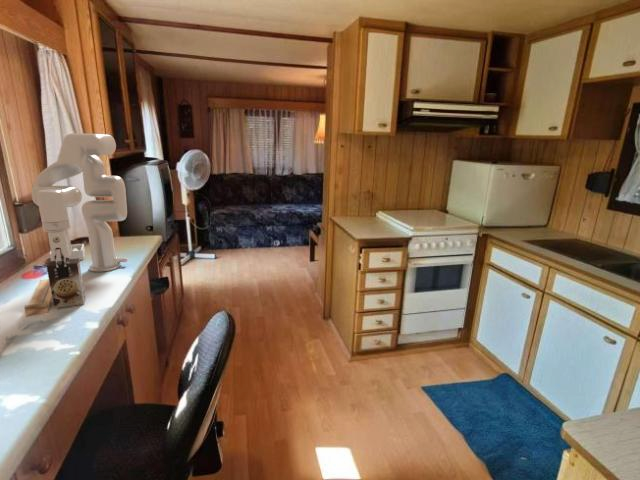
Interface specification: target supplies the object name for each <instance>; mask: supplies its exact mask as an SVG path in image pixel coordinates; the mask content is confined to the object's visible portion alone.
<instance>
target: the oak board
mask: <svg viewBox="0 0 640 480" xmlns="http://www.w3.org/2000/svg"><path fill="white" fill-rule="evenodd" d="M52 303H53V298H52V293H51V287H50V282H49V278H47V279H46V278H45V279H41V280H39V283H38V284H37V287H36V289H35V290H34V293H33V295H32V296H31V299H30V301H29V302H28V304H27V305H24V307H23V308H24V311H25V316H26V318H29V317H33V316H39V315H44V314H45V315H46V314H49V312H50V310H51V307H52Z"/></svg>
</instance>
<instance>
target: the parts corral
mask: <svg viewBox="0 0 640 480" xmlns="http://www.w3.org/2000/svg"><path fill="white" fill-rule="evenodd" d="M71 247H72V249H73V248H77V249H78V250H76V251H72V254H71V257H70V258H69V259H77V258H79V261H84V260H85V255H86V249H85V244H84V243H77V244H71ZM49 258H50V261H56V260H54V259H53V257H52V253H51V250H50V251H49Z"/></svg>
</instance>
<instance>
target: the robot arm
mask: <svg viewBox="0 0 640 480" xmlns="http://www.w3.org/2000/svg"><path fill="white" fill-rule="evenodd" d="M116 149H117V144H116V140H115V138H114V136H113V135H110V134H105V133H80V132H78V133H77V132H76V133H75V132H73V133H68V134H67V135H65V136H64V137H63V141H62V143H61V147H60V149H59V153H58V157H57V159H56V161H55V162H53V163H52V164H50V165H48V166H47V167H45V168H44V169H43V170H42V171H40V172H39V174H38V175H37V176H36V178H35V181H34V182H33V183H34V184H33V187H32V190H31V199H32V201H33V203H34V204H35V205H36V206H38V211H39V214H40V215H39V216H40V220H41V224H42V225H41V226H42V230H43V232H44V233H47V236H48V242H49V247H50V248H49V249H50V251H51V253H52V257H53V259H54V260H56V269H57V274H58V278H65V277H69V270H68V266H67V265H66V260H67V259H69V258H70V257H71V254H72V247H71V245H72V242H71V239H70V234H69V230H70V229H71V225H70V218H69V213H68V208H73V207H76V206H78V205H79V204H80V203H81V202H82V200H83V194H82V192H81V190H80V189H79V188H78V187H76V186H71V185H55V184H56V183H58V182H60V181H63V180H66V179H70V178H73V177H75V176H77V175H80V174H81V173H82V179H83V180H82V181H83V190H84V192H85V195H87V196H88V197H93V198H112V199H113V200H112V199H109V200H107V199H93V200H87V201H85V202H84V203H83V204H82V205H81V214H82V216H83V220H84V222H85V225H86V229H87V235H88V241H89V247H90V248H89V249H90V256H91V261H92V264H91V265H89V266H88V268H89V271H92V272H95V273H102V272H108V271H113V270H116V269H118V268H120V267H121V263H127V262H128V257H124V256H123V257H119V256H117V254H116V249H115V247H116V246H115V241H114V234H113V230H112V227H111V226H110V225H109V224H108V222H122V221H124V220H126V218H127V216H128V204H127V190H126V185H125V182H124V179H123V178H122V177H121V176H118V175H107V174H106V167H105V163H104V161H103V160H102V159H101V158H100V156H101V157H102V156H112V155H113V154H114V153H115V151H116ZM62 260H64V262H63V261H62Z"/></svg>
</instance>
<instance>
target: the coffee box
mask: <svg viewBox="0 0 640 480" xmlns="http://www.w3.org/2000/svg"><path fill="white" fill-rule="evenodd" d="M62 261H63V262H64V260H62ZM66 265H67V266H68V270H69V277H65V278H58V274H57V269H56V261H51V260H49V262H48V263H47V265H46V272H47V276H48V279H49V282H50V287H51V293H52V298H53V301H52V303H53V308H54V309H59V308H67V307H72V306H74V307H75V306H81V305H84V304H85V301H86V294H85V287H84V282H83V276H82V267H81V260H79V258H77V259H67V260H66Z"/></svg>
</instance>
